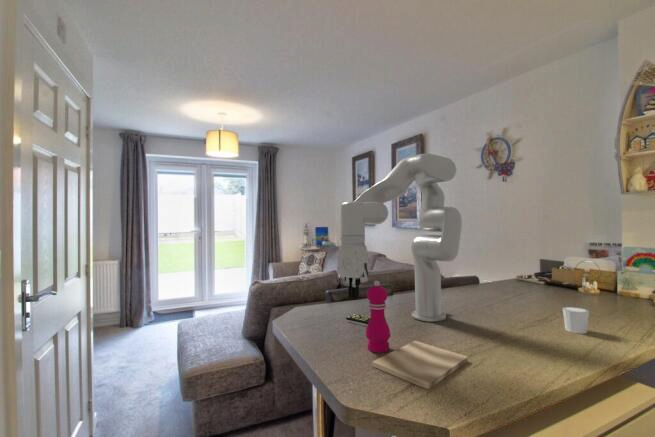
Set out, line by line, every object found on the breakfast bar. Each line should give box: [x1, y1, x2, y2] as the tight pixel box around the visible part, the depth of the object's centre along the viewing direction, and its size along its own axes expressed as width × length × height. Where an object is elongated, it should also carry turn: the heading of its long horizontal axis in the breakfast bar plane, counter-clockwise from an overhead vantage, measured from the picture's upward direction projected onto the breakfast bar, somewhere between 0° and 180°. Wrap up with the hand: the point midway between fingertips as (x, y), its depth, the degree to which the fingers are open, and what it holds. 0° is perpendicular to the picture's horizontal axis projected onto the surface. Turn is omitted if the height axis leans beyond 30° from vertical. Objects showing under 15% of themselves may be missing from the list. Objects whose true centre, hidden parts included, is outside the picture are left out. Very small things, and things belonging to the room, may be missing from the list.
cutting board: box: [371, 340, 469, 390], centre depth 83 cm, size 20×16×1 cm
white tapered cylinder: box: [562, 306, 590, 335], centre depth 104 cm, size 7×7×7 cm
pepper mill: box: [365, 280, 391, 354], centre depth 93 cm, size 7×7×20 cm
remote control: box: [345, 313, 370, 327], centre depth 117 cm, size 6×13×2 cm, turn 51°
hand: (353, 298), depth 100 cm, fingers closed
